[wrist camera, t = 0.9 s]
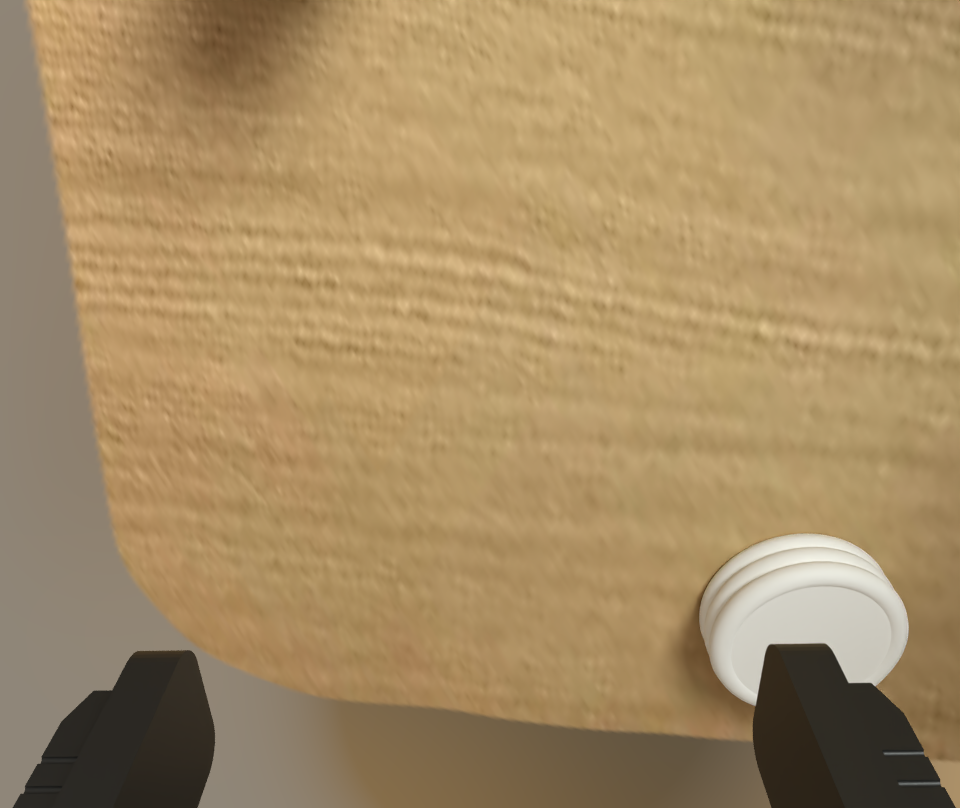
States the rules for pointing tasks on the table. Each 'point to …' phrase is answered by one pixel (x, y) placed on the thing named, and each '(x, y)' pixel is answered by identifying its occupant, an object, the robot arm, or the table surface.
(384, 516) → the table surface
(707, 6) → the table surface
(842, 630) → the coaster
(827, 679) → the robot arm
